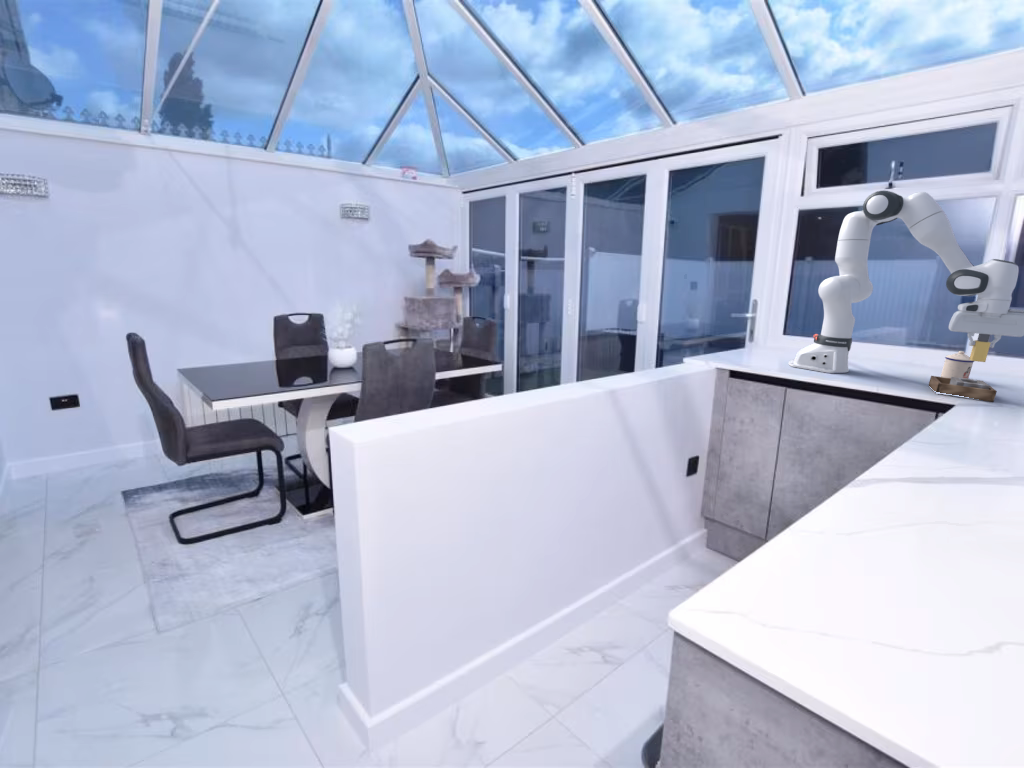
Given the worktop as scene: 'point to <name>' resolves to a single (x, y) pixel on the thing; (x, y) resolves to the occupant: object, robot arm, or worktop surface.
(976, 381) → the walled box
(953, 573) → the worktop surface
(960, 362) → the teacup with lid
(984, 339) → the connector
